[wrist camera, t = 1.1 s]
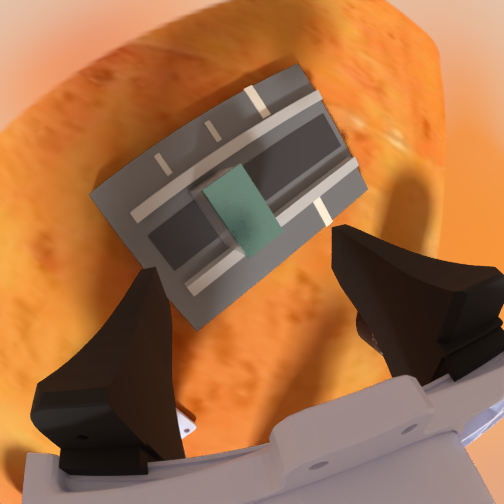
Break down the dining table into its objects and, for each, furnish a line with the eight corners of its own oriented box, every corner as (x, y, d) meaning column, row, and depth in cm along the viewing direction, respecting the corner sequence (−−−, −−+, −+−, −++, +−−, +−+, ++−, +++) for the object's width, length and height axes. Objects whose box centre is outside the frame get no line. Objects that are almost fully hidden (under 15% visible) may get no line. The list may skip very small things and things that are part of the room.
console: (193, 324, 24) (200, 338, 21) (90, 193, 19) (85, 193, 17) (357, 189, 27) (376, 190, 25) (288, 68, 23) (303, 58, 21)
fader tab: (225, 245, 22) (249, 258, 18) (186, 191, 20) (202, 190, 16) (253, 223, 22) (283, 231, 18) (217, 169, 21) (240, 163, 16)
